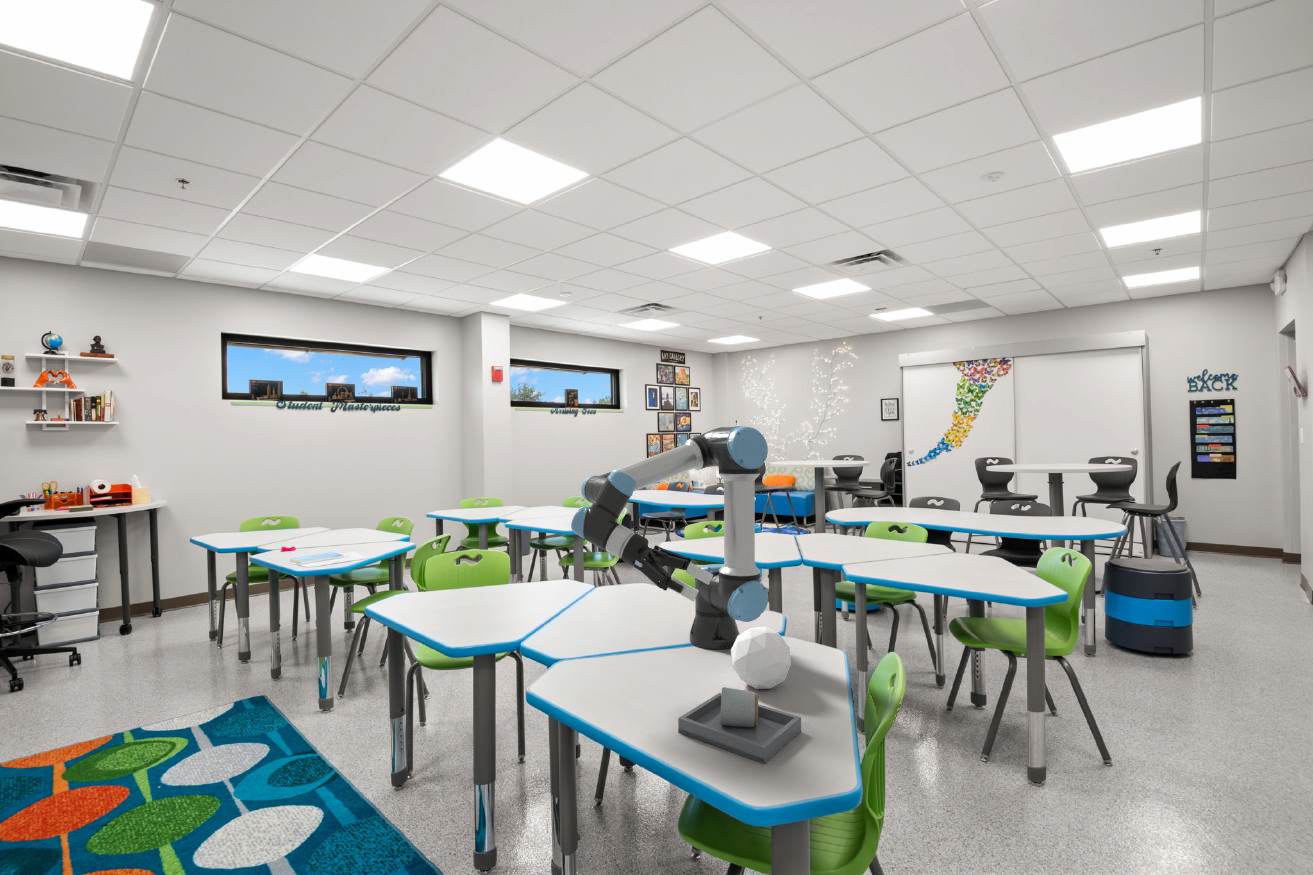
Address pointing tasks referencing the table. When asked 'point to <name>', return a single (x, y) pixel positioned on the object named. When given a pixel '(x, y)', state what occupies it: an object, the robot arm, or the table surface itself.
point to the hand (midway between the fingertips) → (704, 587)
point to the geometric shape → (761, 657)
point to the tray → (741, 730)
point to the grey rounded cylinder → (738, 708)
